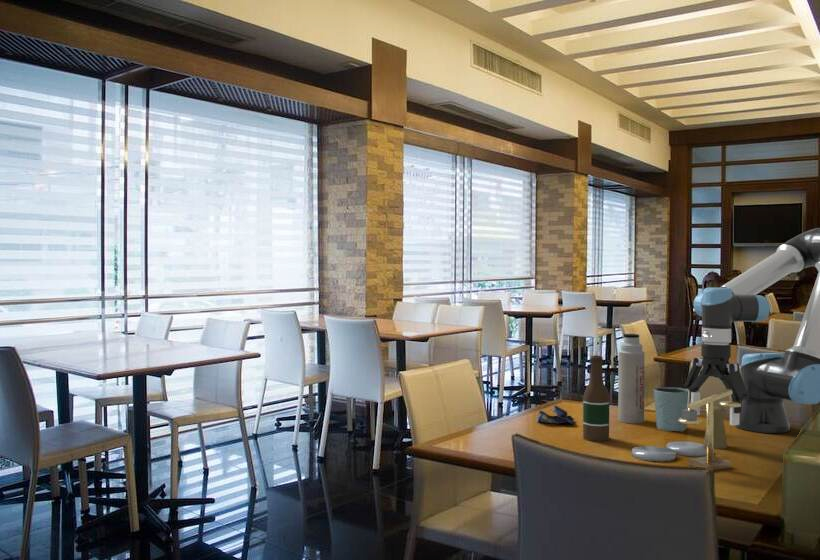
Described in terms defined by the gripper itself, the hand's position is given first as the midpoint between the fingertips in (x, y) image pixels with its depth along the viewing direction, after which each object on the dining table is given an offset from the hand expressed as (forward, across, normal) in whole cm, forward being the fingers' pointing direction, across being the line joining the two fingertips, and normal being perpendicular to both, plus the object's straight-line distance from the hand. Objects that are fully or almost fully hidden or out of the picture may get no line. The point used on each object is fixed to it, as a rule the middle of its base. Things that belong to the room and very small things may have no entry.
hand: (714, 419), depth 195 cm
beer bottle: (+8, -20, -24) cm, 32 cm away
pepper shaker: (+8, 0, +1) cm, 8 cm away
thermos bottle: (+8, -34, +1) cm, 35 cm away
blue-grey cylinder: (+8, -21, +5) cm, 23 cm away
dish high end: (+8, +1, -10) cm, 13 cm away
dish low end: (+8, +1, -22) cm, 24 cm away
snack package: (+8, -41, -23) cm, 48 cm away
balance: (+8, +14, -16) cm, 23 cm away
